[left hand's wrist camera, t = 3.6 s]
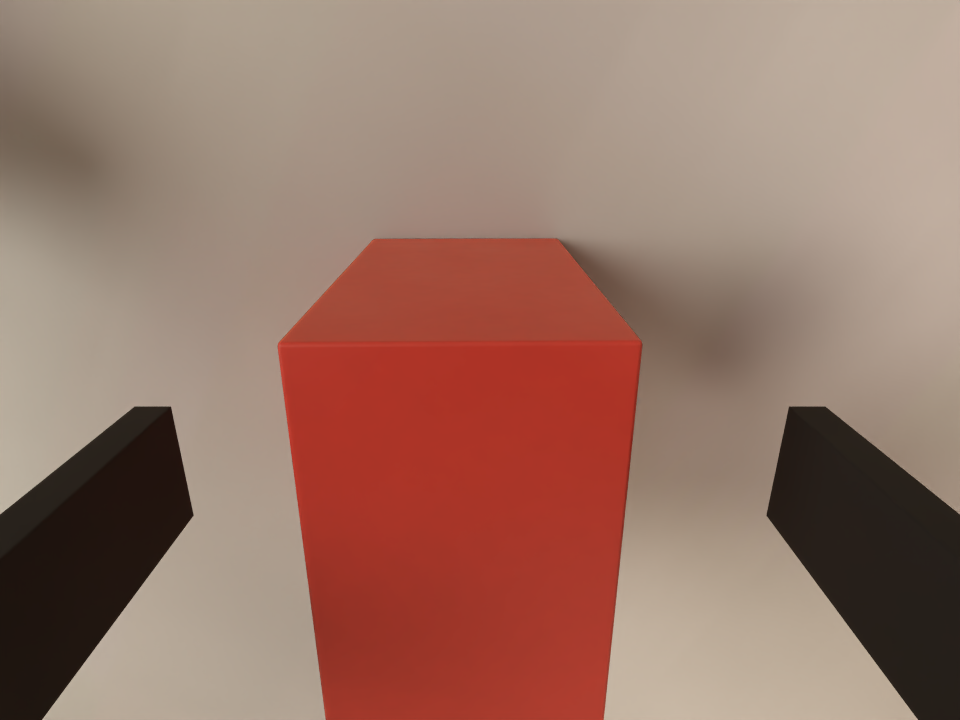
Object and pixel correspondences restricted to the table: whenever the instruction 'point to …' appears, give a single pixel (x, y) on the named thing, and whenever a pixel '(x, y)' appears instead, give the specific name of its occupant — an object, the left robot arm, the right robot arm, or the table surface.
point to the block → (462, 479)
